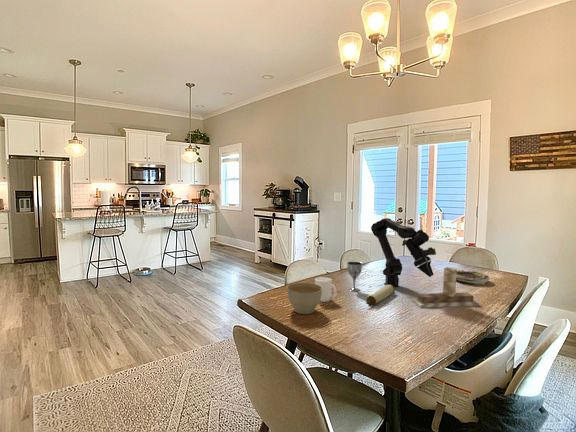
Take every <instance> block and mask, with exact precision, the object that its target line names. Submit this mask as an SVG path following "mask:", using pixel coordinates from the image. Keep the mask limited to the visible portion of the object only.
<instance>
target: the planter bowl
mask: <svg viewBox="0 0 576 432" xmlns="http://www.w3.org/2000/svg"><path fill="white" fill-rule="evenodd" d="M286 291H287V298H288V301H289V303H290V304H291V307H292V308H293V312H295V313H297V314H303V315H308V314H312V313H314V312H315V309H316V308H317V307H318V305H319V304H320V299H321V295H322V287H321V286H319V285H316V284H315V283H312V282H311V283H310V282H295V283H291V284H289V285H287V287H286Z"/></svg>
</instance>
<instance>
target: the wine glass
mask: <svg viewBox="0 0 576 432" xmlns="http://www.w3.org/2000/svg"><path fill="white" fill-rule="evenodd" d="M346 263H347V265H346V266H347V267H346V268H347V273H348V275H349V276H350V277H351V279H352V282H353V285H352V287H350V288H349V289H348V288H347V291H348V290H349V292H351V291H352V293H358V292H361V291H362V290H361V289H360V288H357V287H356V280H357V278H358V277H359V276H360V275H361V273H362V269H363V263H362V262H359V261H348V262H346Z"/></svg>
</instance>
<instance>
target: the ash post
mask: <svg viewBox="0 0 576 432" xmlns="http://www.w3.org/2000/svg"><path fill="white" fill-rule="evenodd" d="M457 271H458V268H455V267H448V266H446V267H444V268H443V279H442V280H443V281H442V282H443V283H442V293H443V295H446V296H451V297H453V296H454V295H455V294H456V293H457V292H456V291H457V290H456V288H457V287H456V286H457V281H456V274H457Z"/></svg>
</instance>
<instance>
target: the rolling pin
mask: <svg viewBox="0 0 576 432" xmlns="http://www.w3.org/2000/svg"><path fill="white" fill-rule="evenodd" d="M395 291H396V287H394V286H393V285H391V284H389V285H384V286H383V287H381V288H380V289H378V290H377V291H376V292H374V293H372V294H368V295H367V297H366V301H365V303H366V304H367V305H368V306H371V307H374V306H376V305H377V304H379V303H380V302H382V301H383V300H385V299H386V298H387V297H388V296H390V295H392V294H393V293H395Z"/></svg>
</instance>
